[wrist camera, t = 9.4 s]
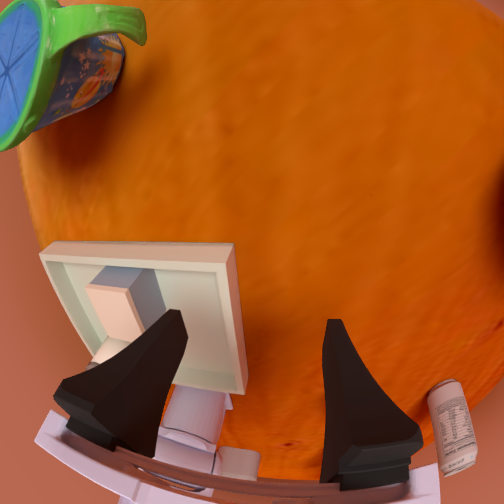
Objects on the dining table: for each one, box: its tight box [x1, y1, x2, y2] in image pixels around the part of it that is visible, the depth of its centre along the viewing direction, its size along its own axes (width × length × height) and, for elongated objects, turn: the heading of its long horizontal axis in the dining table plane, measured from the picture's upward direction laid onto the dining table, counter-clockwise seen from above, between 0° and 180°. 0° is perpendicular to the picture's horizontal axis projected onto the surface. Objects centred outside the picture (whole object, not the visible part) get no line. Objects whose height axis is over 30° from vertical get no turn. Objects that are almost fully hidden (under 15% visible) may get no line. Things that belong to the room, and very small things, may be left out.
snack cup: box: [0, 0, 147, 152], centre depth 11 cm, size 16×10×10 cm
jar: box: [86, 336, 132, 371], centre depth 28 cm, size 5×5×7 cm
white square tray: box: [39, 241, 249, 395], centre depth 27 cm, size 19×22×3 cm
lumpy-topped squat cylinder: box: [218, 446, 261, 481], centre depth 49 cm, size 10×13×9 cm
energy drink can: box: [427, 379, 478, 477], centre depth 23 cm, size 6×6×15 cm
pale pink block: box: [85, 265, 166, 342], centre depth 23 cm, size 6×5×5 cm
